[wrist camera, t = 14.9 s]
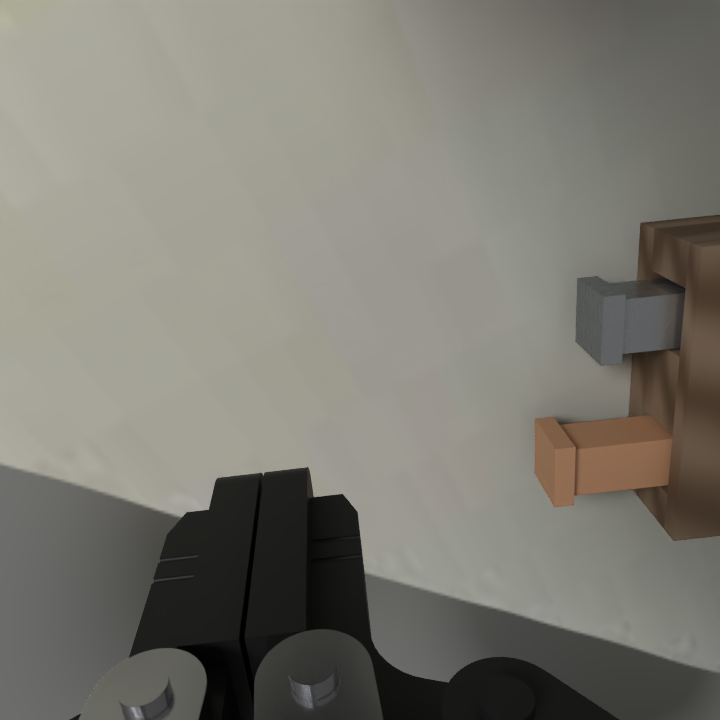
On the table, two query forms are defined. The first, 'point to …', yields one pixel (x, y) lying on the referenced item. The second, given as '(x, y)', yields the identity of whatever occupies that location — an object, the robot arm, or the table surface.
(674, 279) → the socket block
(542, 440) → the rust plug
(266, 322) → the table surface
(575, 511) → the table surface
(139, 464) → the table surface
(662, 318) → the grey plug
